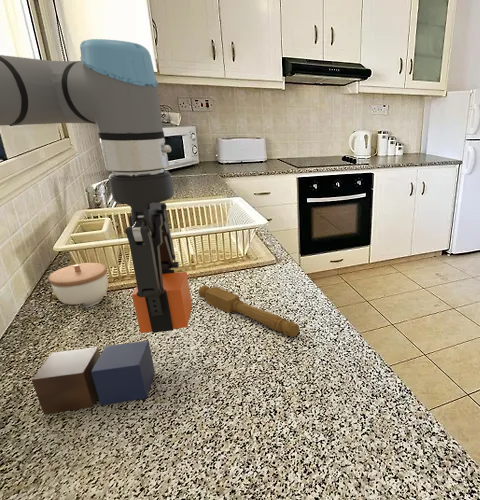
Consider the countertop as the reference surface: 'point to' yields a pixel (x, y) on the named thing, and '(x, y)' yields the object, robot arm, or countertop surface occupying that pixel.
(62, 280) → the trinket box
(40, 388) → the walnut block
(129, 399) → the navy block
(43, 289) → the countertop surface
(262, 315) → the tap handle
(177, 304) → the orange block
